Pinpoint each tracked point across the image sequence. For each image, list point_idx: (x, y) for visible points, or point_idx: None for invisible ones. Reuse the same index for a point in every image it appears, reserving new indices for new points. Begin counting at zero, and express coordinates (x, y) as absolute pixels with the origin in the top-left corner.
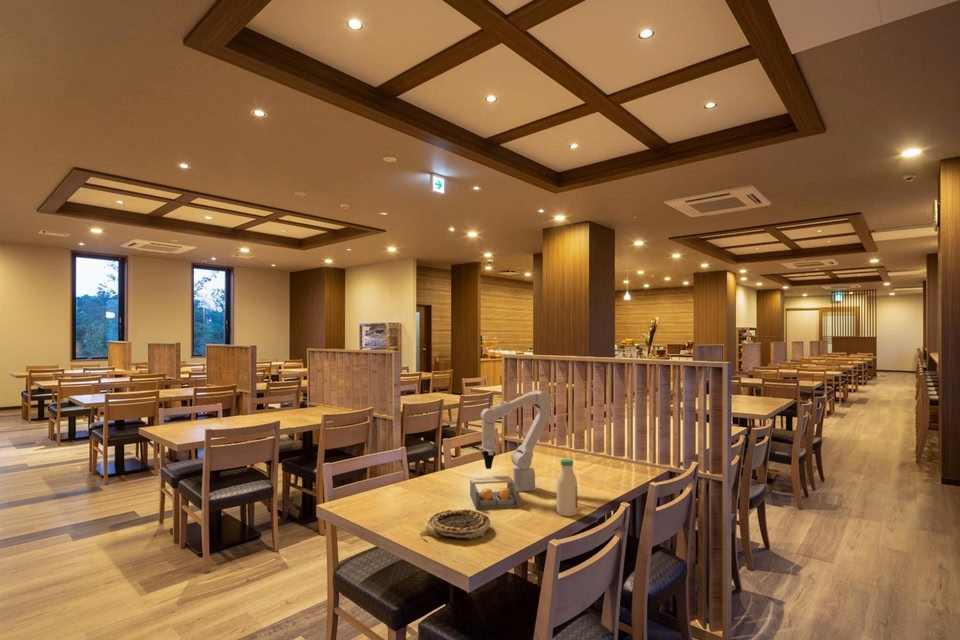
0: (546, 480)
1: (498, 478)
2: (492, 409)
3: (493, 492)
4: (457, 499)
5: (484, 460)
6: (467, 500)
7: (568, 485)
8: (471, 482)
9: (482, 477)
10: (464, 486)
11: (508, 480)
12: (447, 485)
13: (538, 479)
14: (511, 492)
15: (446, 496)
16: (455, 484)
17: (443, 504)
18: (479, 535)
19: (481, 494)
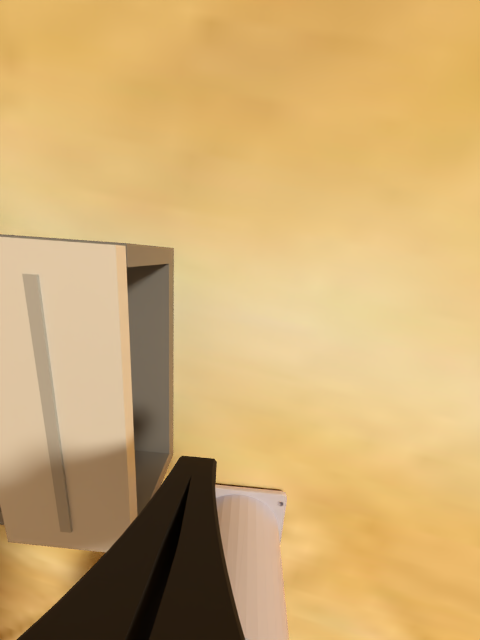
0: (333, 636)
1: (53, 472)
2: None
3: (158, 384)
4: (103, 148)
5: (197, 547)
6: (80, 212)
7: None
8: (27, 236)
9: (101, 360)
10: (368, 248)
11: (9, 518)
12: (438, 121)
13: (359, 617)
14: None
15: (174, 72)
16: (439, 191)
17: (4, 21)
18: None
19: (129, 311)
